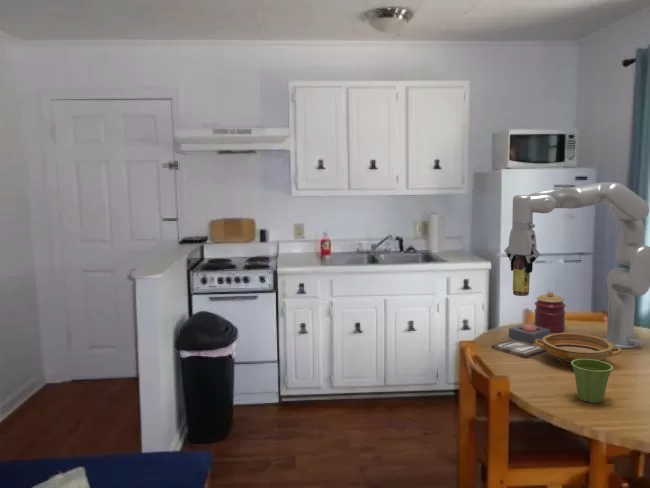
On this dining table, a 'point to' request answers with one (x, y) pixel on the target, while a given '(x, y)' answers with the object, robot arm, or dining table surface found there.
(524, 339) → the button housing
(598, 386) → the plant pot
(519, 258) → the sauce bottle
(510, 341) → the pad
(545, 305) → the canister
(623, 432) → the dining table surface
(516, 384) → the dining table surface
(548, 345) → the ceramic bowl
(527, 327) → the button
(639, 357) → the dining table surface
